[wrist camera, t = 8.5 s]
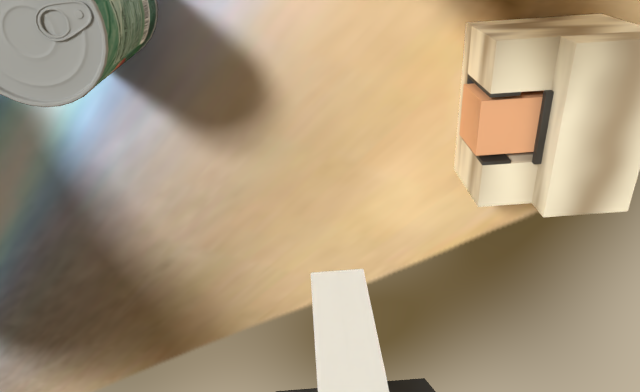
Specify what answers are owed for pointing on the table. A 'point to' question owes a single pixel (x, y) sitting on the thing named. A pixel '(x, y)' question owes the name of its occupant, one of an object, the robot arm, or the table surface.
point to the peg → (499, 121)
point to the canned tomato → (67, 45)
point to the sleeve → (559, 112)
